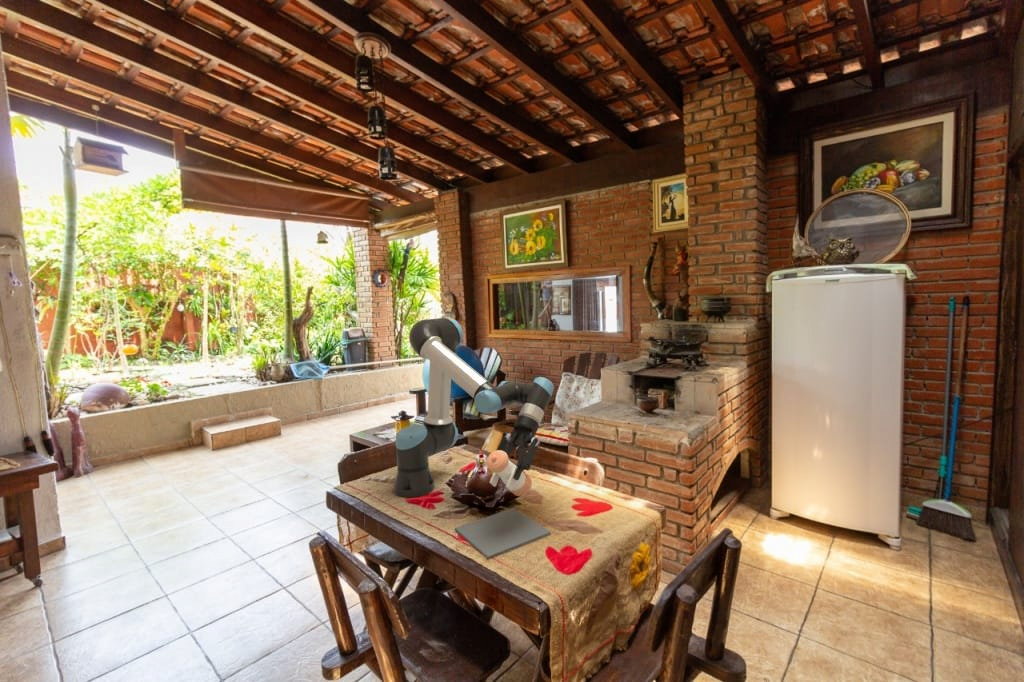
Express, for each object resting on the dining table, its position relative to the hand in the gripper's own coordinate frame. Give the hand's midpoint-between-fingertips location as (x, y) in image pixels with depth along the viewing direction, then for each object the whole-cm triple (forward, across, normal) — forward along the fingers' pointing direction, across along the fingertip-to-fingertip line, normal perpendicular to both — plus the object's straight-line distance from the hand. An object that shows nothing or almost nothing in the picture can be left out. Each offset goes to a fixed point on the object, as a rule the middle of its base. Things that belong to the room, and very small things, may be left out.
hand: (500, 486), depth 138 cm
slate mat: (+10, +1, -11) cm, 15 cm away
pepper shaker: (-5, 0, -10) cm, 12 cm away
